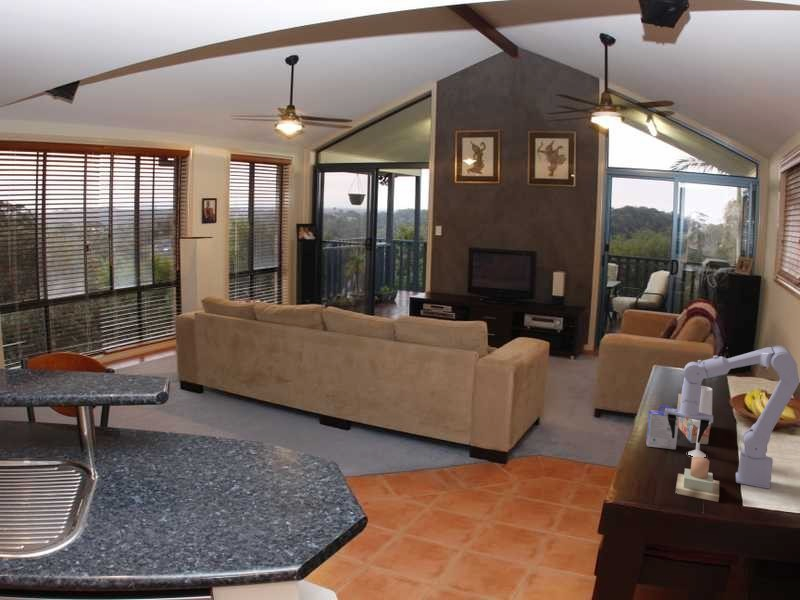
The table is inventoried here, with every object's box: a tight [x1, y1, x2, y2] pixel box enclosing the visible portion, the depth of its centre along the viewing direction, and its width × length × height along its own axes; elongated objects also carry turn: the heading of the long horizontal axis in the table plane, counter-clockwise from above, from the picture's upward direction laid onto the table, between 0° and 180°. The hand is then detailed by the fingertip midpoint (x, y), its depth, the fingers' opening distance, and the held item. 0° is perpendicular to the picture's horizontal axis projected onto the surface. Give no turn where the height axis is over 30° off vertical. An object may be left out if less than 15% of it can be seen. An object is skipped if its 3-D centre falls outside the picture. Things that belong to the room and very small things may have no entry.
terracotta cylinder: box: [690, 457, 710, 479], centre depth 222 cm, size 5×5×5 cm
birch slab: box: [675, 473, 720, 503], centre depth 223 cm, size 12×12×2 cm
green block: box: [683, 467, 714, 493], centre depth 223 cm, size 8×8×3 cm
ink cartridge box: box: [645, 404, 679, 450], centre depth 257 cm, size 10×6×14 cm, turn 79°
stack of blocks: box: [676, 393, 712, 445], centre depth 271 cm, size 21×6×12 cm, turn 174°
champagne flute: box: [687, 385, 713, 458], centre depth 249 cm, size 7×7×24 cm
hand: (685, 439), depth 236 cm, fingers open, 7 cm apart
